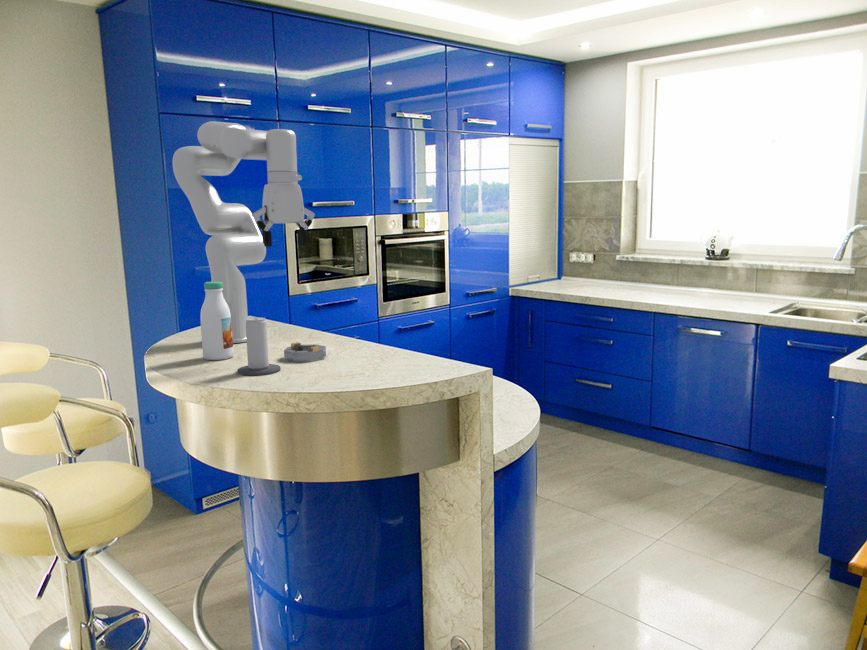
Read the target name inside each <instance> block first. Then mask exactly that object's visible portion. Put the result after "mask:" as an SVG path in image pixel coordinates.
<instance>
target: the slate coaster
mask: <svg viewBox="0 0 867 650" xmlns="http://www.w3.org/2000/svg"><path fill="white" fill-rule="evenodd" d="M280 371H281V366H280V365H279V364H275V363H269V366H268V367H267V368H266V369H262V370H251V369H250V368H249V367H248V365H244V366H240V367H239V368H237V371H236V372H237V374H238V375H241V376H245V377H247V376H249V377H255V376H256V377H257V376H267V375H272V374H276V373H278V372H280Z"/></svg>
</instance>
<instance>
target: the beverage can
mask: <svg viewBox="0 0 867 650" xmlns="http://www.w3.org/2000/svg"><path fill="white" fill-rule="evenodd" d="M246 340H247V342H246V351H247V352H246V353H247V355H246V356H247V366H248V367H249V368H250V369H251V370H262V369H266V368H267V367H268V366H269V364H270V363H269V362H270V361H269V347H268V326H267V320H266V317H260V316H257V317H248V318H247V319H246Z"/></svg>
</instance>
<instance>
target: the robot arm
mask: <svg viewBox="0 0 867 650" xmlns="http://www.w3.org/2000/svg"><path fill="white" fill-rule="evenodd" d="M196 134H197V135H196V136H197V141H198V142H199V144H200V146H199V145H187V146H182V147H179V148H178V149H176V150H175V151H174V152H173V157H172V170H173V175H174V177H175V179H176V182H177V184H178V186H179V187H180V189H181V190H182V192H183V193H184V195H185V196H186V198H187V199H188V201H189V203H190V205H191V208H192V211H193V213H194V216H195V218H196V220H197V223H198V224H199V227H200V228H201V230H202V232H203V233H204V234H206V235H209V236H211V237H209V238H208V239H207V241H206V243H205V253H206V257H207V262H208V266H209V272H210V277H211V282H215V281H219V282H222V283H223V290H222V294H223V297H224V299H225V301H226V303H227V305H228V307H229V310H230V314H231V324H232V337H233V344H240V343H241V344H242V343H247V340H246V319H247V318H249V317H248V299H247V288H246V287H247V286H246V278H245V276H244V275H243V273H242V272H241V271H240V269H239V267H238V266H248V265H249V266H250V265H256V264H260V263H261V262H263V261H264V260H265V258H266V255H267V248H271V247H272V246H273V243H272V241H273V240H272V232H271V230H270V229H271V228H272V227H273V225H274V224H295V225H296V227H298V230H297V244H298V245H299V246H306V244H307V230H308V229H309V227H310V226H311V225H312V223H313V220H314V219H315V215H316V213H314V212H313V211H311V210H310V209H308V208H306V207H305V206H304V205H305V204H304V197H303V191H302V188H301V186H300V185H301V184H298V183H299V181H302V179H303V176H302V175H301V174H299V173H298V156H297V155H298V154H297V136H296V133H295V132H294V131H293V130H291V129H287V128H286V129H285V128H273V129H269V130H260V129H249V128H246V127H245V126H244V125H242V124H240V123H237V122H224V121H211V120H210V121H207V122H204V123H203V124H202V125H201V126H199V128H198V130H197V132H196ZM241 160H252V161H253V160H255V161H266V168H267V169H266V171H267V172H266V173H267V184H264V187H263V193H262V207H261V208H259V209H258V210H255V212H251V210H250V208H248V207H247V206H246V205H244V204H242V203H239V202H238V203H236V202H232V203H231V202H224V201H222V200H221V197H220V195H219V193H218V191H217V190H216V188H215V187H214V186H213V184H211V183H210V182H209V181H208V180H206V179H205V178H204V177H202V176H209V177H211V176H212V177H213V176H214V177H217V176H218V177H219V176H220V177H225V176H229V175H230V174H232V173H233V171H235V169H236V167H237V166H238V164H239V163H240V161H241ZM305 215H306V216H307V217H306V219H305ZM261 216H262V220H261V218H260V217H261Z"/></svg>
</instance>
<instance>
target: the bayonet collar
mask: <svg viewBox="0 0 867 650" xmlns="http://www.w3.org/2000/svg"><path fill="white" fill-rule="evenodd" d="M283 354H284V355H283V356H284V357H283V358H284V361H288V362H292V363H306V362H309V363H310V362H316V361H321V360H324V359H325V358H326V357H327V347H326V345H321V344H302V343H301V342H293V343H292V342H291V343H290V346H288V347H287V346H286V348H285V349H284V350H283Z"/></svg>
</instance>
